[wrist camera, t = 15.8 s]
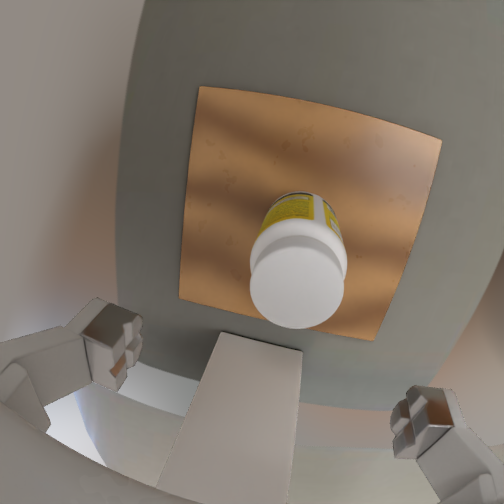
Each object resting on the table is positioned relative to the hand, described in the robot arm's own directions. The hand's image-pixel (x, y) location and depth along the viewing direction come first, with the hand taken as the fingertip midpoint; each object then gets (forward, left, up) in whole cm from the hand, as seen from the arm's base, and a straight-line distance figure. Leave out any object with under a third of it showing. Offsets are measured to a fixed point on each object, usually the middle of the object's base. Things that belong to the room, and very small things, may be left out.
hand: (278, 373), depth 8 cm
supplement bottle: (0, 0, -14) cm, 14 cm away
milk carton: (+10, -10, -14) cm, 20 cm away
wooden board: (0, 0, -14) cm, 14 cm away
